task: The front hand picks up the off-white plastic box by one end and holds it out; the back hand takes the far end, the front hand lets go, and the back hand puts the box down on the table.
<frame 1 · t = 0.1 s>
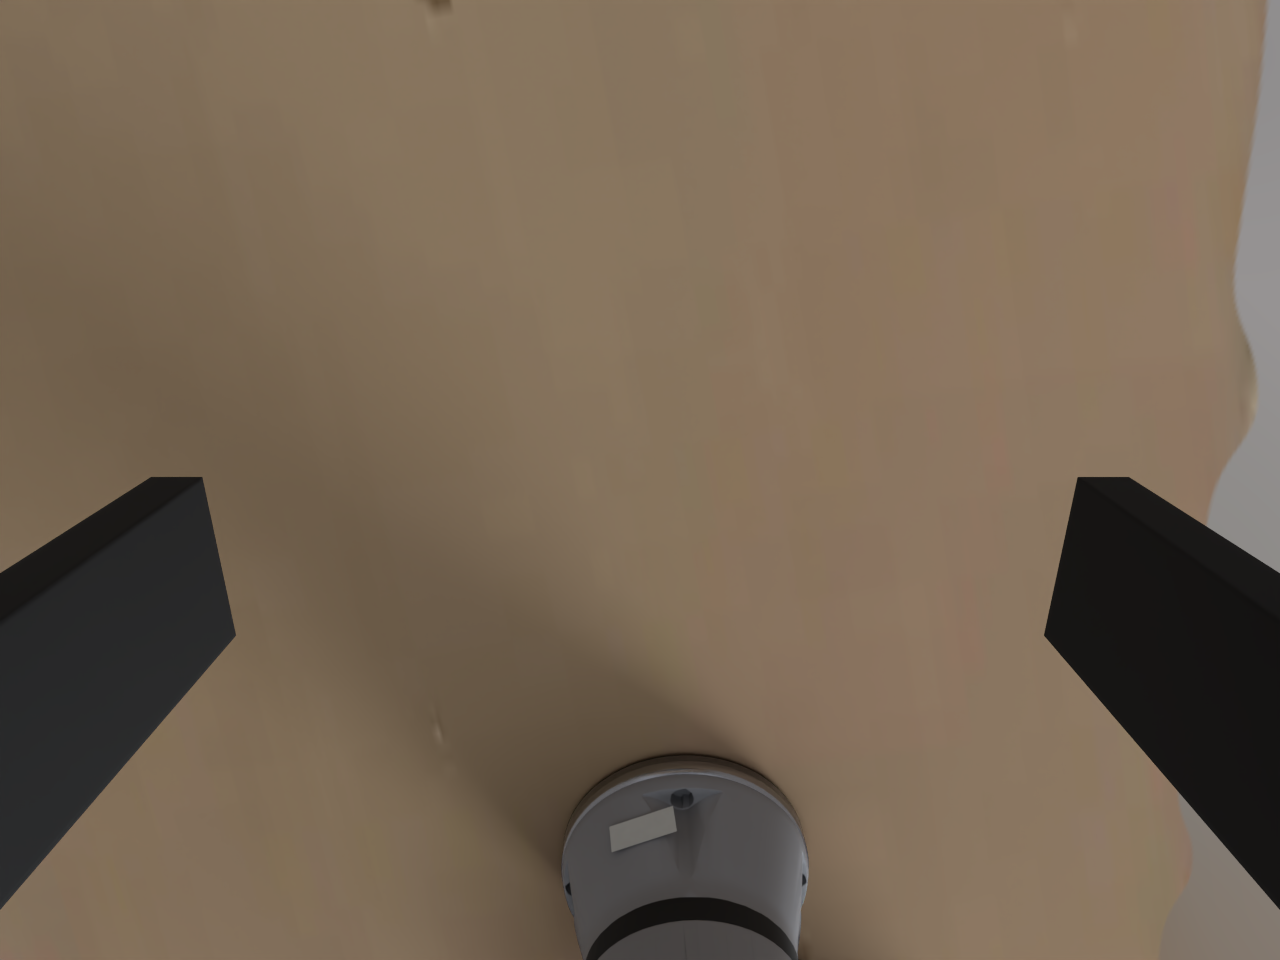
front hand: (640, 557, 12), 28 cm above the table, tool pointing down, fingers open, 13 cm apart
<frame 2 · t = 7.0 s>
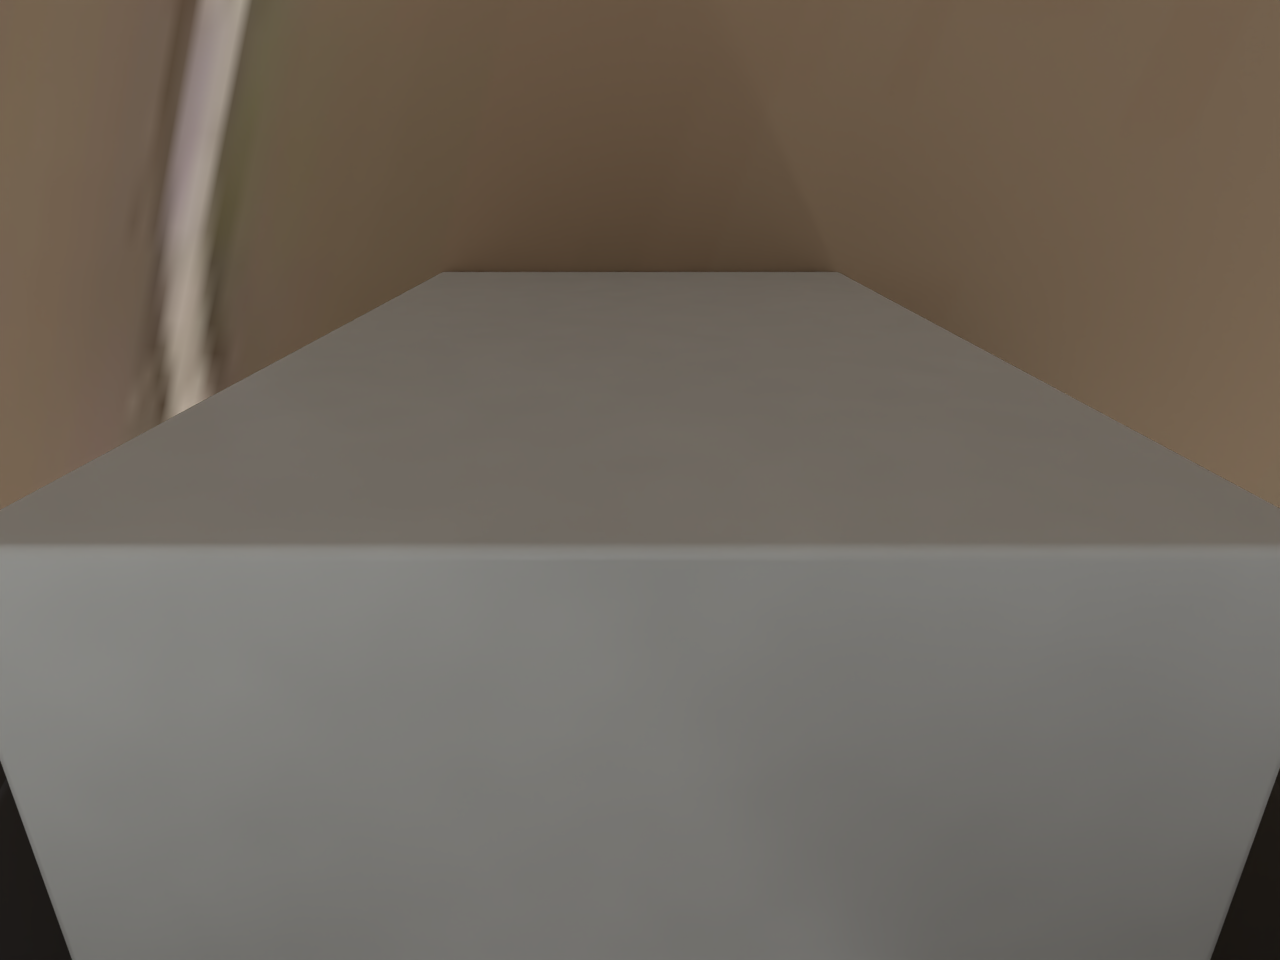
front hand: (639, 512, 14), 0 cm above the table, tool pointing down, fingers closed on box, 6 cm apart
box: (640, 837, 17), on the table, touching front hand
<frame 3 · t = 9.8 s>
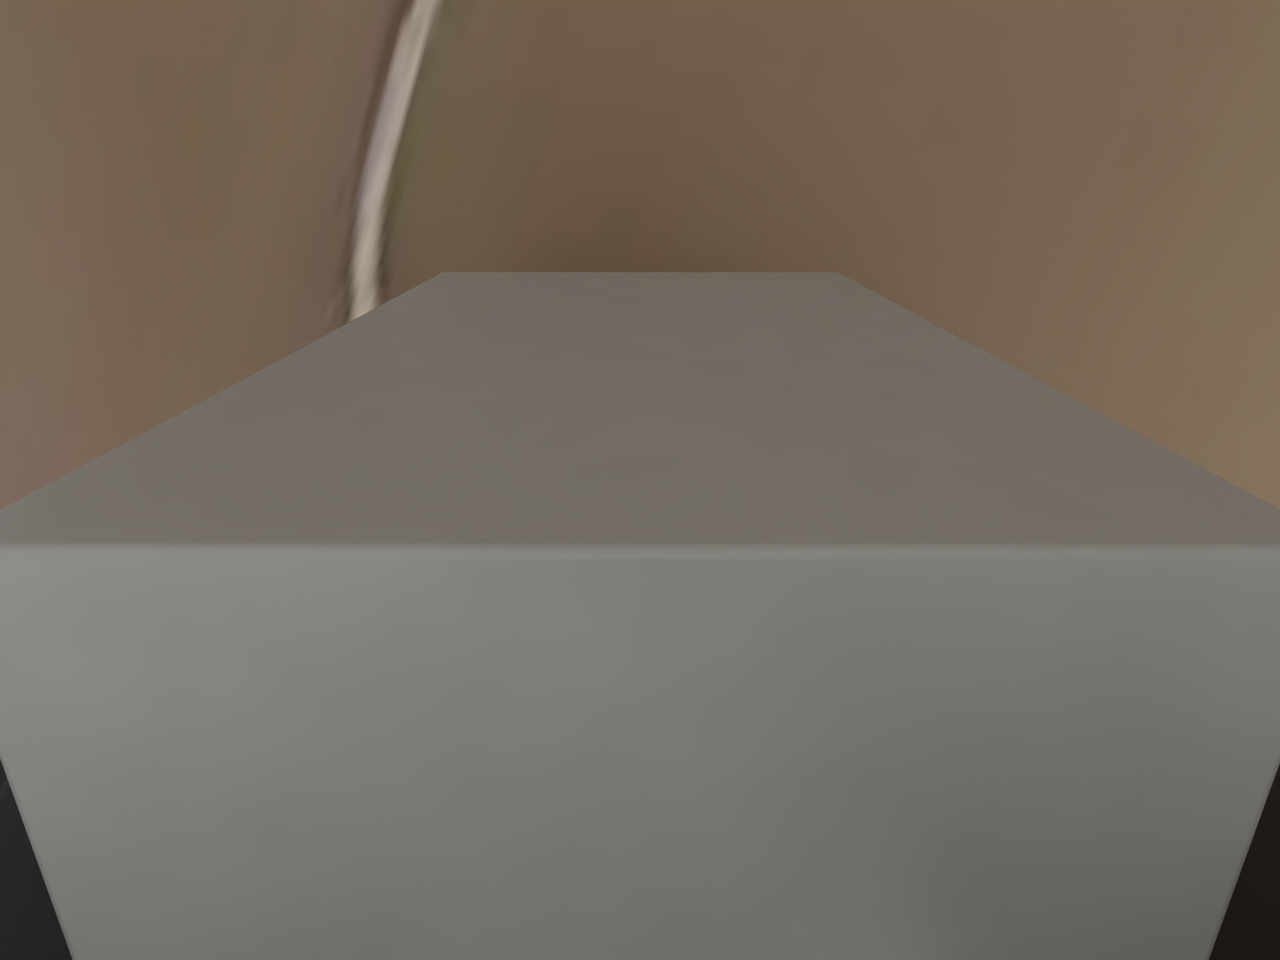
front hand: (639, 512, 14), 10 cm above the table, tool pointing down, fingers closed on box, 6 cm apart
box: (640, 836, 17), point 9 cm above the table, touching front hand
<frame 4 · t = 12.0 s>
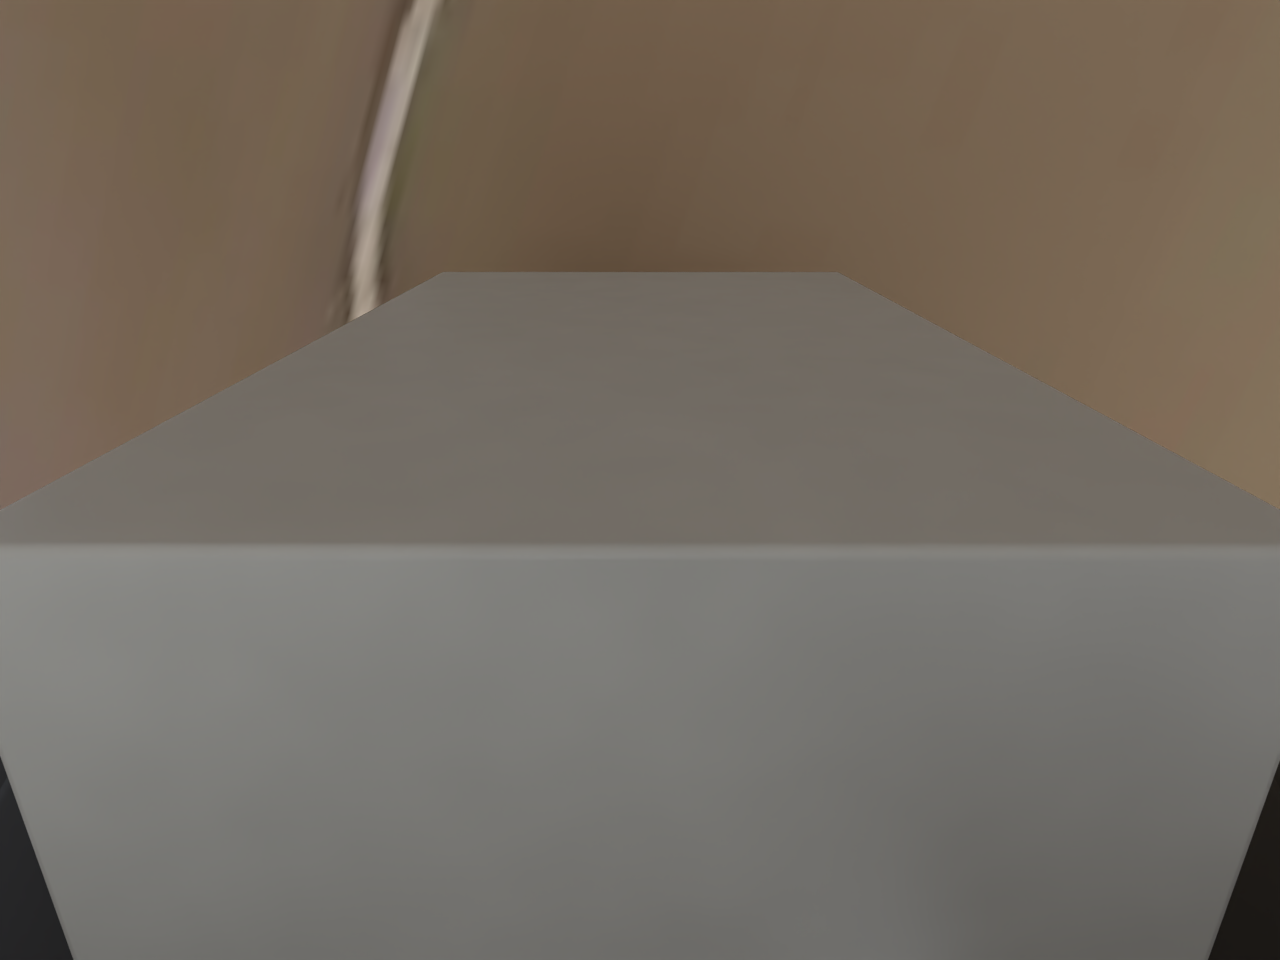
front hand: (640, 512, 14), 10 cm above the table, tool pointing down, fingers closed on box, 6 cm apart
box: (640, 836, 17), point 9 cm above the table, touching front hand, back hand
when the front hand's fingers open (10 cm above the table, at t = 12.7 s): box stays where it is, held by the back hand.
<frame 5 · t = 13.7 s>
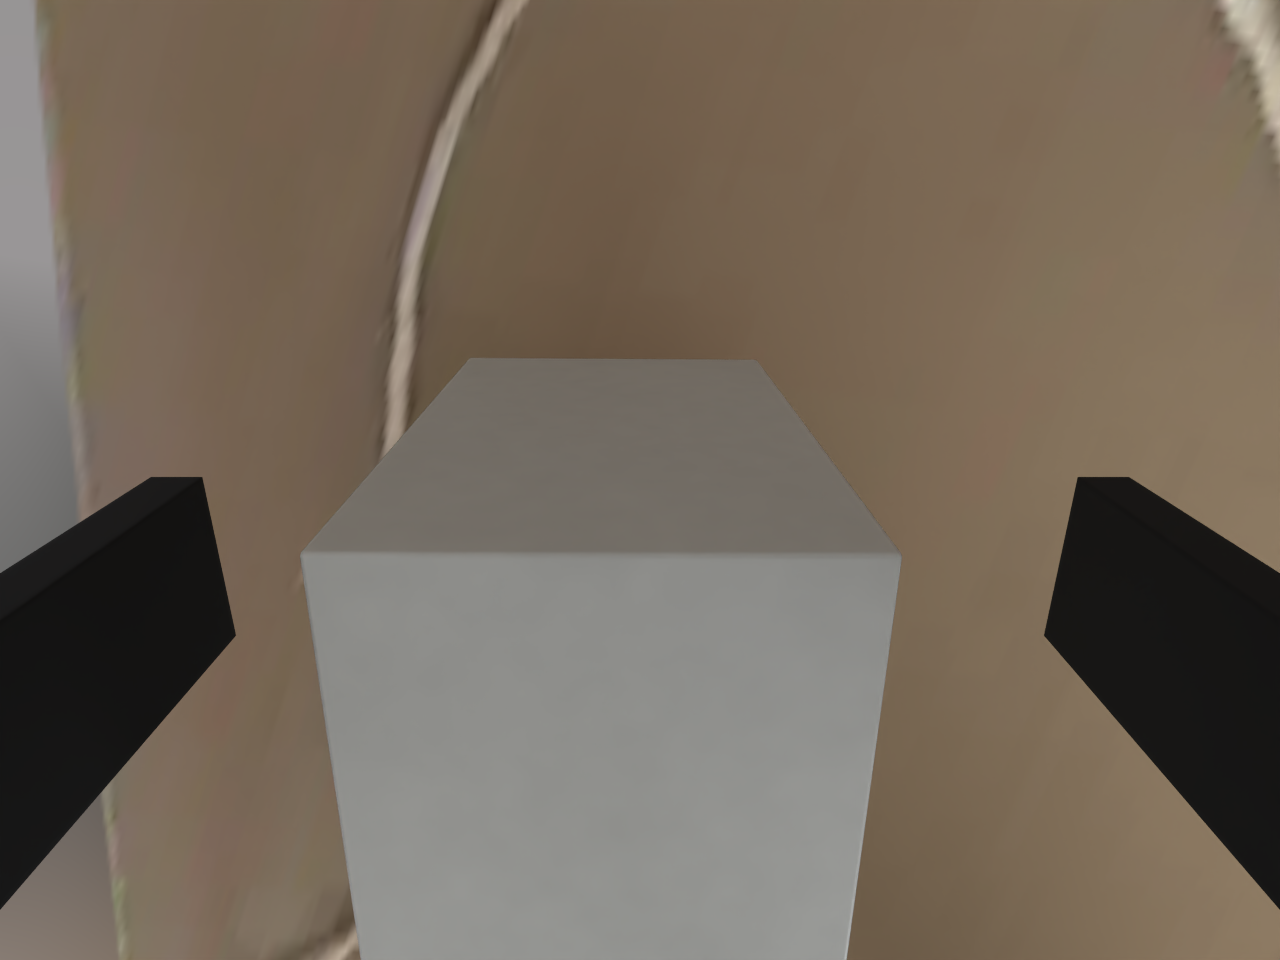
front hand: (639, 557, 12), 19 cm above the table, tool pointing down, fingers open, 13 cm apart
box: (614, 784, 22), point 12 cm above the table, touching back hand
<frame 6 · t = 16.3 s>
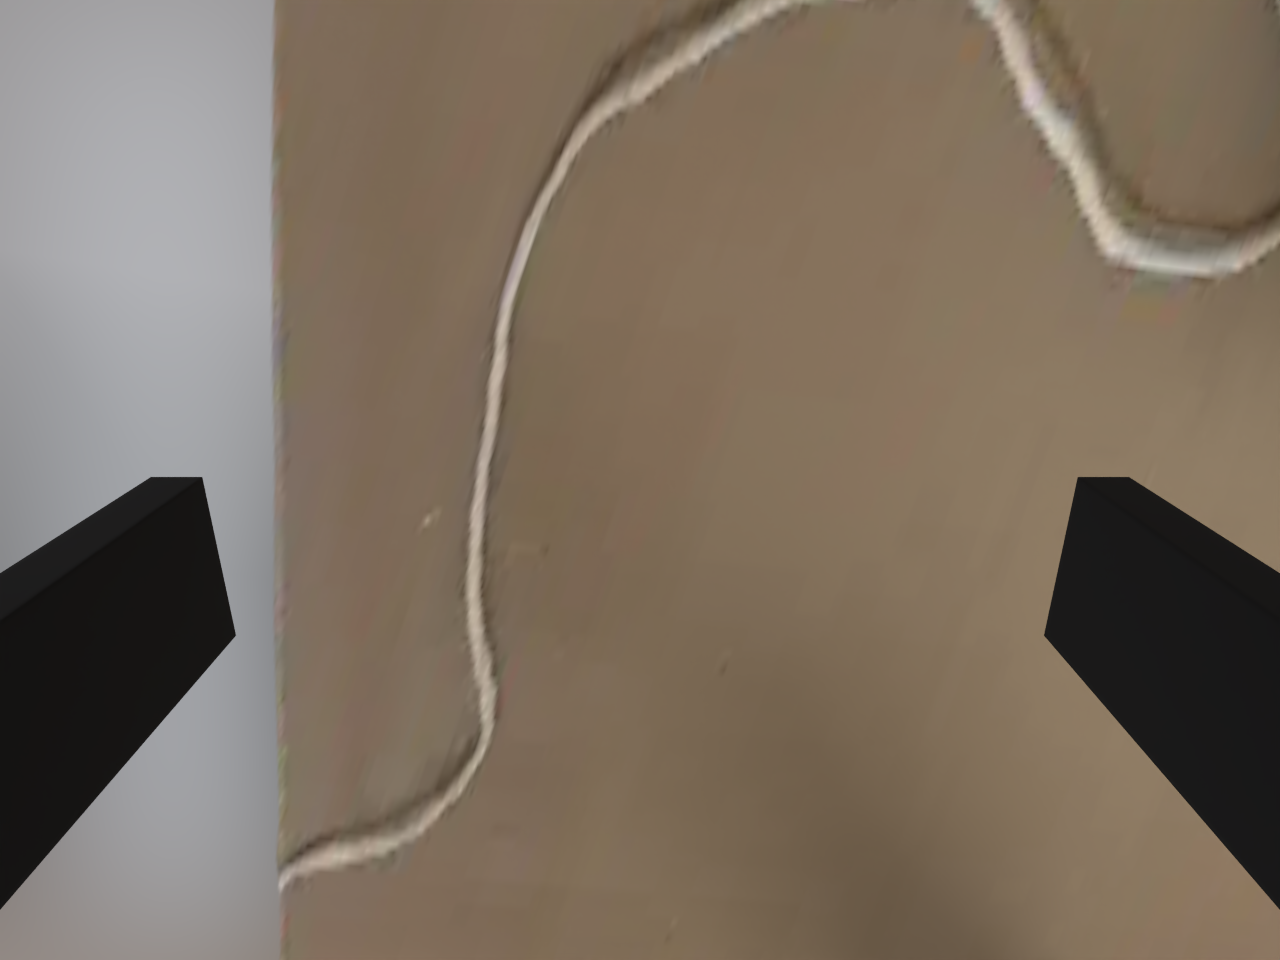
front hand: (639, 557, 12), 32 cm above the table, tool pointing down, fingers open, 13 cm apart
when the back hand's fingers open (2 cm above the table, at t = 20.6 s): box drops 2 cm, on the table.
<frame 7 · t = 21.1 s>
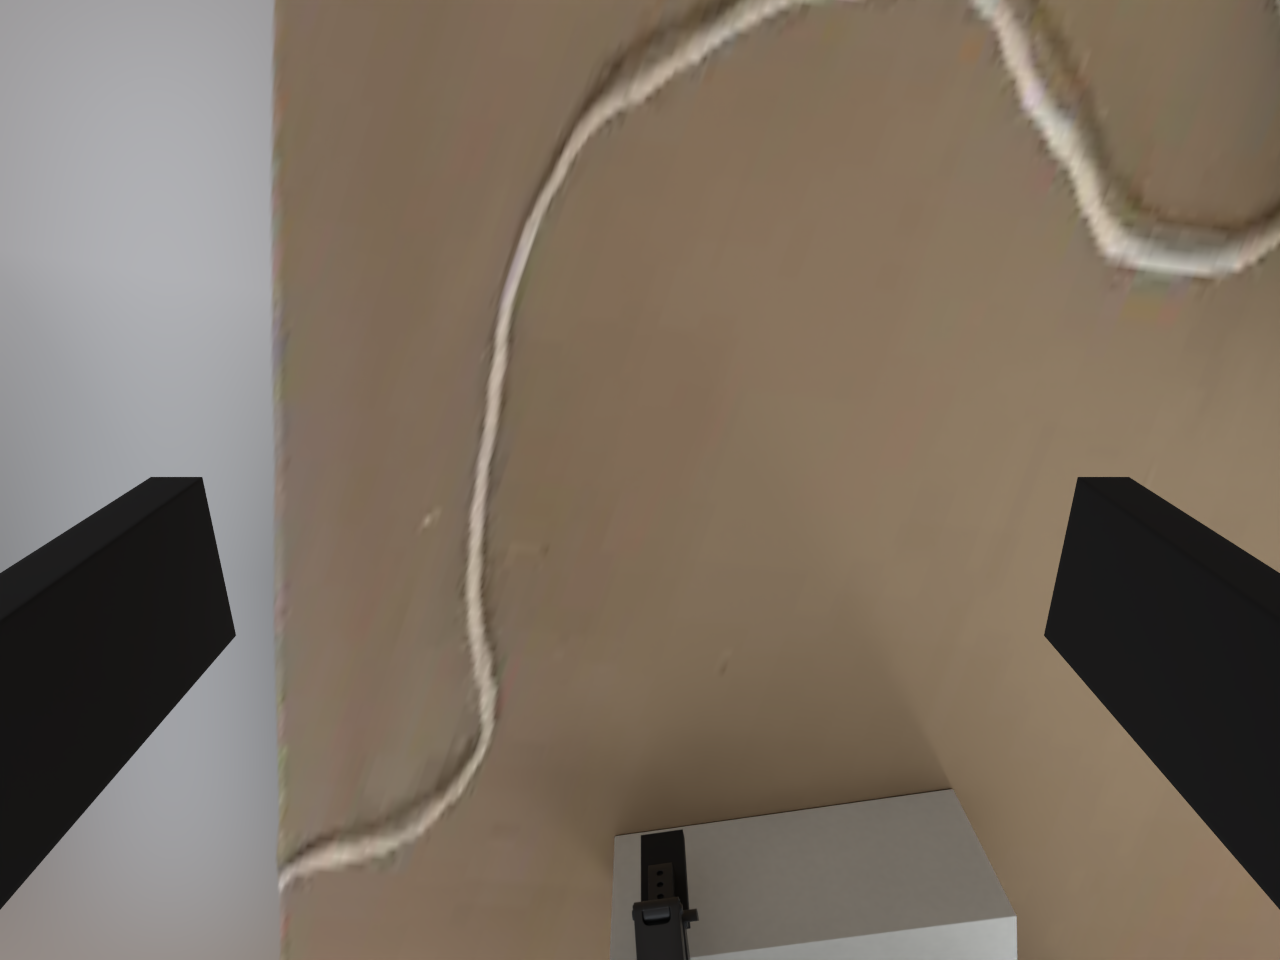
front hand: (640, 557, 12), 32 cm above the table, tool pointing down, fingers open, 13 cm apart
box: (786, 847, 57), on the table
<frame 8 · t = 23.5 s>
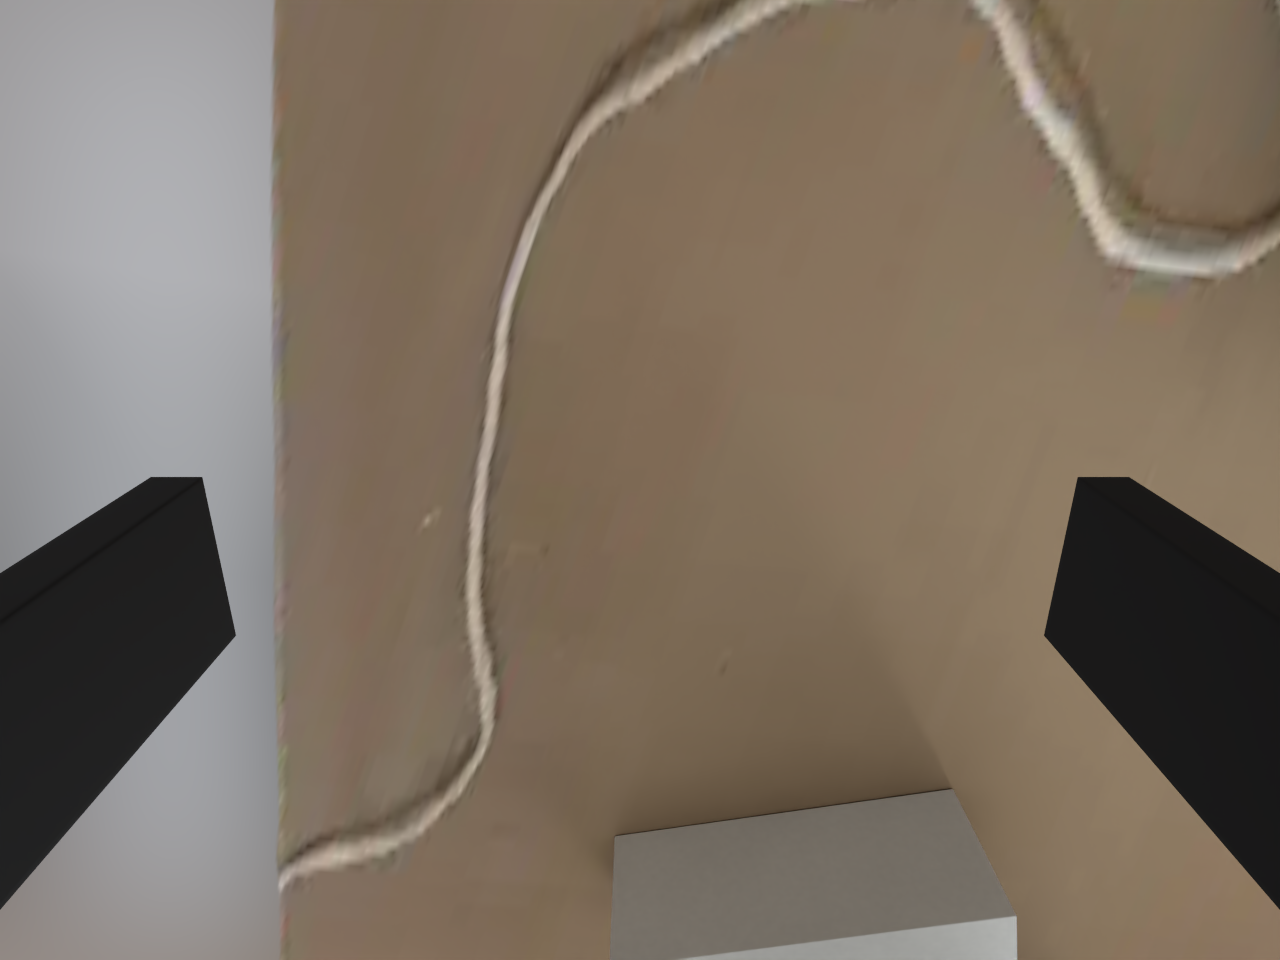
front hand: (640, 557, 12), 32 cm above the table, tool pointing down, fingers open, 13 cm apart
box: (786, 847, 57), on the table
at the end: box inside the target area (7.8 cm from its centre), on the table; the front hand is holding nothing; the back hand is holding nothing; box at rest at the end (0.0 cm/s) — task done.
